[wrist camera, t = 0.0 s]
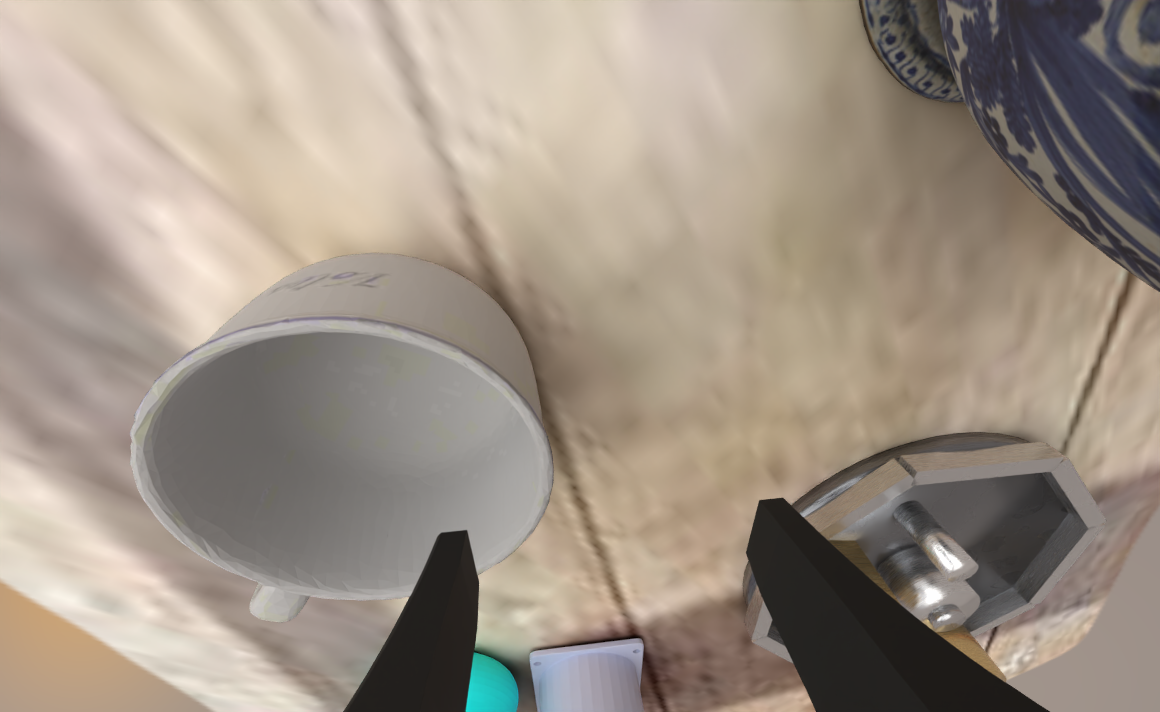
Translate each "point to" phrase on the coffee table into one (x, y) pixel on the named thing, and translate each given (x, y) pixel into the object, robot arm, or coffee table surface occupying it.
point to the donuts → (491, 687)
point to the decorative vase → (1049, 101)
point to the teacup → (347, 433)
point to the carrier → (953, 531)
